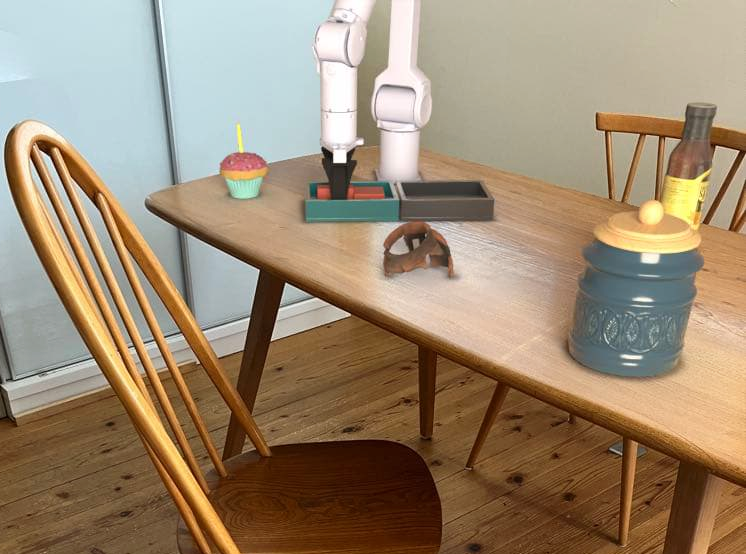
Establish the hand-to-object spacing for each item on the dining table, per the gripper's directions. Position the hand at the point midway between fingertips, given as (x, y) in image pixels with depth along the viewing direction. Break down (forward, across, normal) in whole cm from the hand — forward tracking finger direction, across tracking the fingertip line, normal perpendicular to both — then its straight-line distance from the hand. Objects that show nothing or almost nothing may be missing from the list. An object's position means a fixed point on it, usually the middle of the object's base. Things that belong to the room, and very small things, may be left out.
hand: (338, 198), depth 150 cm
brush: (+2, 0, -2) cm, 2 cm away
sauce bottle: (+2, -19, -50) cm, 54 cm away
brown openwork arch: (+2, -30, -10) cm, 32 cm away
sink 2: (+2, 0, -18) cm, 18 cm away
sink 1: (+2, 0, -2) cm, 3 cm away
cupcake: (+2, +10, +16) cm, 19 cm away
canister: (+2, -58, -32) cm, 66 cm away
